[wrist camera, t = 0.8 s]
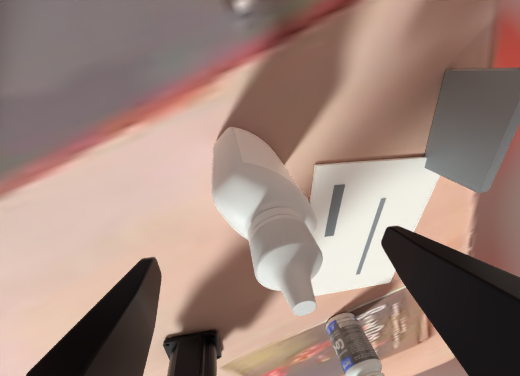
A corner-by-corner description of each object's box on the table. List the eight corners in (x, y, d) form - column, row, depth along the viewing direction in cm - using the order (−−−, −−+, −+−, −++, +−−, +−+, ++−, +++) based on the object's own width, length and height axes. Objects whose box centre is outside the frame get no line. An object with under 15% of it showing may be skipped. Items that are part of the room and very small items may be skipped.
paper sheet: (388, 280, 28) (390, 283, 28) (296, 296, 26) (297, 299, 26) (446, 154, 19) (449, 156, 19) (314, 164, 18) (316, 166, 17)
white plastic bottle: (264, 111, 15) (372, 205, 4) (284, 176, 18) (379, 326, 7) (206, 134, 15) (182, 279, 4) (237, 195, 18) (263, 370, 7)
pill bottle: (325, 316, 30) (359, 394, 23) (355, 308, 30) (398, 382, 23) (324, 333, 32) (355, 408, 25) (353, 325, 33) (391, 396, 26)
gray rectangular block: (430, 164, 20) (489, 190, 15) (421, 166, 20) (478, 193, 15) (456, 68, 16) (546, 67, 11) (445, 70, 16) (532, 70, 11)
